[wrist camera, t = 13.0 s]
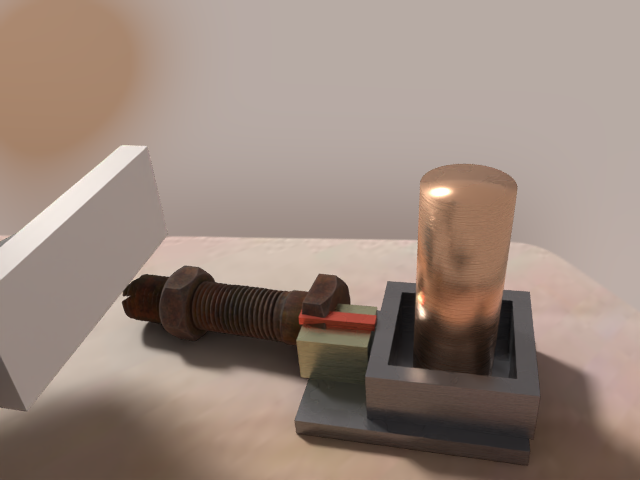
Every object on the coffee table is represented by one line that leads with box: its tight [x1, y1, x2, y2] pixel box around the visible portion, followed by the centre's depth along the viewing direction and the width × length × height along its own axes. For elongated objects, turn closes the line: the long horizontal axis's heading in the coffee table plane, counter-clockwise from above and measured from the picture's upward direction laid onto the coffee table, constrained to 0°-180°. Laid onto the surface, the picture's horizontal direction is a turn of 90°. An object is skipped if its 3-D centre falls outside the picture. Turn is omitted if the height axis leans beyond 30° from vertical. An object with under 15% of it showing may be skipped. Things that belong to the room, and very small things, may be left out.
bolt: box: [122, 266, 350, 346], centre depth 39 cm, size 6×5×15 cm
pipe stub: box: [413, 164, 517, 376], centre depth 31 cm, size 4×4×12 cm
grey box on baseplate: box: [295, 281, 540, 465], centre depth 34 cm, size 13×10×4 cm
